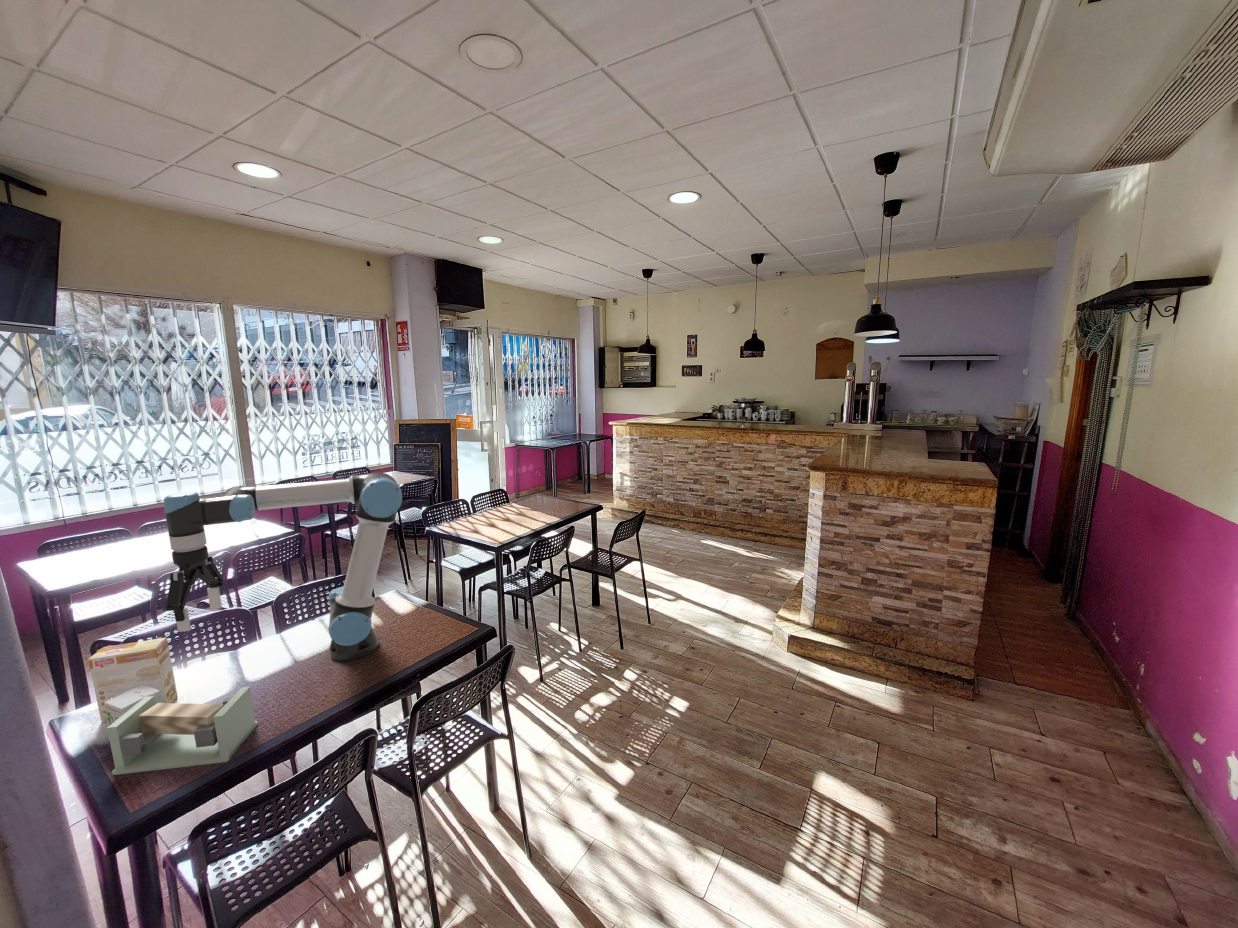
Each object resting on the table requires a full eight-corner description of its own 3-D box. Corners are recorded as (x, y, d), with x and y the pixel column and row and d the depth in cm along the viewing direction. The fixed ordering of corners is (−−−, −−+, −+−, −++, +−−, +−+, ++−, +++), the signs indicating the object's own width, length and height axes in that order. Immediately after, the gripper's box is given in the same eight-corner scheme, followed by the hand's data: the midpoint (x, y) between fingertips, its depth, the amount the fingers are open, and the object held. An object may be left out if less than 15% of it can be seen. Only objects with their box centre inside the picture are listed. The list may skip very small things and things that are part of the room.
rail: (226, 721, 130) (223, 704, 129) (210, 735, 125) (206, 717, 125) (161, 719, 131) (158, 702, 130) (142, 733, 126) (138, 715, 126)
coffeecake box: (178, 696, 151) (167, 636, 148) (167, 710, 144) (155, 648, 141) (115, 707, 146) (102, 646, 143) (100, 723, 139) (86, 659, 136)
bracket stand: (257, 723, 138) (251, 684, 136) (226, 761, 125) (219, 718, 123) (156, 734, 134) (148, 694, 132) (112, 774, 121) (103, 730, 119)
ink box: (110, 741, 132) (102, 701, 130) (149, 720, 140) (142, 682, 138) (129, 749, 129) (121, 708, 127) (168, 727, 137) (161, 689, 135)
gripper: (203, 535, 151) (214, 601, 154) (139, 565, 126) (153, 642, 130) (231, 533, 152) (241, 599, 155) (172, 562, 128) (185, 639, 131)
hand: (201, 619), depth 143 cm, fingers open, 13 cm apart
